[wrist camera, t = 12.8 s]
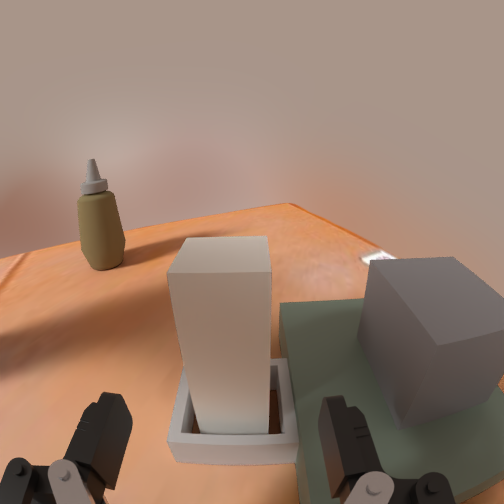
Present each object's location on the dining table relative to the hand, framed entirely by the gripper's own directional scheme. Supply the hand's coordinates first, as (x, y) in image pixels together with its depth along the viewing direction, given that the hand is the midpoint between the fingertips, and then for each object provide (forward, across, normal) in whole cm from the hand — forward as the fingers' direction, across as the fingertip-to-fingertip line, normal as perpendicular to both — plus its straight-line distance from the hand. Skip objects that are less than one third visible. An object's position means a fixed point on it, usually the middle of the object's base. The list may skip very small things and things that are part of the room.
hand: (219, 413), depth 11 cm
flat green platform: (+7, -8, +10) cm, 14 cm away
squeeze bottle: (+37, +23, +10) cm, 45 cm away
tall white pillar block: (+7, 0, +10) cm, 12 cm away
